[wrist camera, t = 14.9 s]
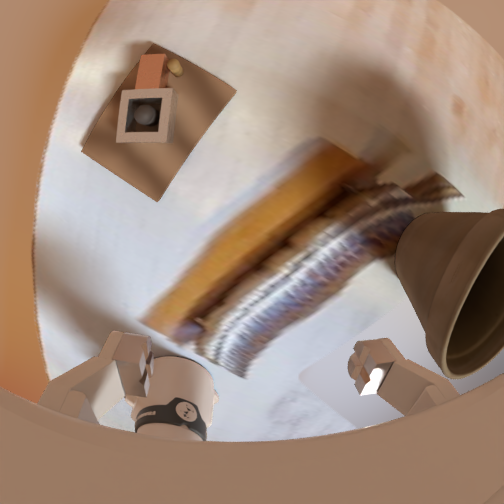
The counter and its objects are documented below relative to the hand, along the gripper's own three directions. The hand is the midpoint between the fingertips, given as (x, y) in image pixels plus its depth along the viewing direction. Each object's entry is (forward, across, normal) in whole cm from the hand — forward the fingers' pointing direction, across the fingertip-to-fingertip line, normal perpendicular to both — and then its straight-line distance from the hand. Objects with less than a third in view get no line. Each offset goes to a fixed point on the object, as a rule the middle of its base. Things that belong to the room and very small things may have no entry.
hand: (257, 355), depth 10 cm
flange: (+28, -12, +14) cm, 33 cm away
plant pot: (+29, +35, -4) cm, 46 cm away
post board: (+29, -12, +11) cm, 33 cm away
